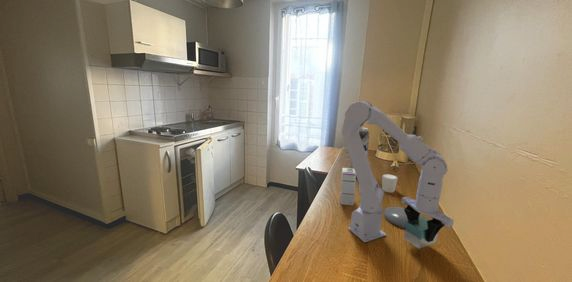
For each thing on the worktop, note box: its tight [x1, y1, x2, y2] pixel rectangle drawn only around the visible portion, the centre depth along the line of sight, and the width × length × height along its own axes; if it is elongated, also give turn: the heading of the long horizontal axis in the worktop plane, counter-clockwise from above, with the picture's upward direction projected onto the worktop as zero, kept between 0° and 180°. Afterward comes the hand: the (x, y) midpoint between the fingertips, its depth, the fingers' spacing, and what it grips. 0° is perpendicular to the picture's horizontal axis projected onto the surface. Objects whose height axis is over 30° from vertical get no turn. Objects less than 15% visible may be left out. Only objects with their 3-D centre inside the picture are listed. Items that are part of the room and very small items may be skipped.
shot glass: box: [381, 173, 398, 193], centre depth 109 cm, size 7×7×7 cm
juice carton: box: [349, 127, 370, 169], centre depth 128 cm, size 9×10×27 cm
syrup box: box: [339, 167, 357, 206], centre depth 96 cm, size 6×6×14 cm
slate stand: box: [383, 206, 423, 229], centre depth 85 cm, size 13×13×2 cm
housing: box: [403, 216, 440, 250], centre depth 69 cm, size 8×5×6 cm, turn 115°
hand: (420, 235), depth 69 cm, fingers closed on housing, 5 cm apart
